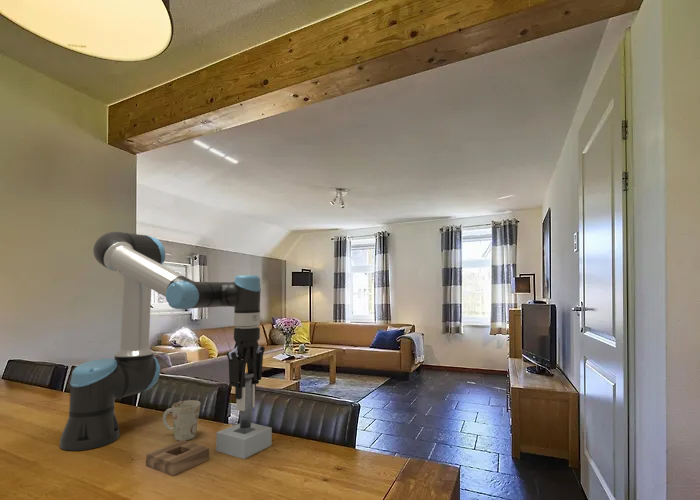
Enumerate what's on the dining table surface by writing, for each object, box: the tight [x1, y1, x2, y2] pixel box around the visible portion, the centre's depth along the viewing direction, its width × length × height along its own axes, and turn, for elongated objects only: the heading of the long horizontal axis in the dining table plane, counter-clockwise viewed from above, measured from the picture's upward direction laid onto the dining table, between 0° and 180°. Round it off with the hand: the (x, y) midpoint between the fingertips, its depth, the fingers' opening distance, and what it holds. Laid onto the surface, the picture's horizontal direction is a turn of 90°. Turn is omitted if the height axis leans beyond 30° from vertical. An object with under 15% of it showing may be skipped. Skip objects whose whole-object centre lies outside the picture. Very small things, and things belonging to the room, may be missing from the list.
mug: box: [162, 399, 201, 442], centre depth 125 cm, size 8×13×10 cm, turn 78°
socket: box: [215, 422, 273, 460], centre depth 116 cm, size 11×11×5 cm
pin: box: [239, 371, 254, 428], centre depth 117 cm, size 4×4×15 cm
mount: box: [145, 440, 210, 477], centre depth 106 cm, size 11×11×3 cm
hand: (245, 408), depth 116 cm, fingers closed on pin, 3 cm apart
